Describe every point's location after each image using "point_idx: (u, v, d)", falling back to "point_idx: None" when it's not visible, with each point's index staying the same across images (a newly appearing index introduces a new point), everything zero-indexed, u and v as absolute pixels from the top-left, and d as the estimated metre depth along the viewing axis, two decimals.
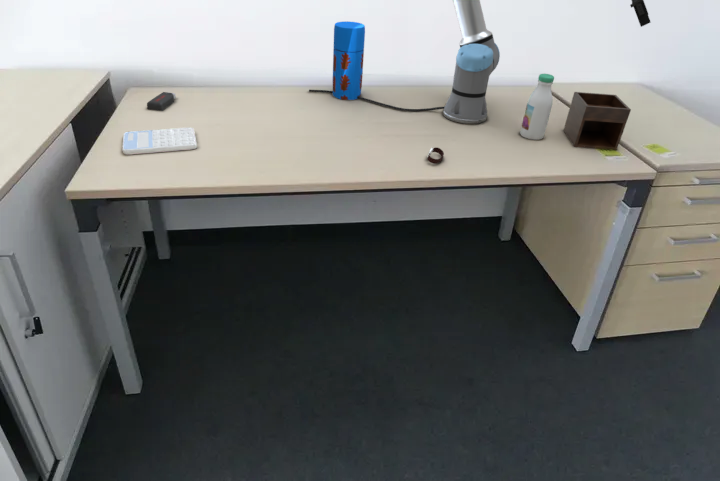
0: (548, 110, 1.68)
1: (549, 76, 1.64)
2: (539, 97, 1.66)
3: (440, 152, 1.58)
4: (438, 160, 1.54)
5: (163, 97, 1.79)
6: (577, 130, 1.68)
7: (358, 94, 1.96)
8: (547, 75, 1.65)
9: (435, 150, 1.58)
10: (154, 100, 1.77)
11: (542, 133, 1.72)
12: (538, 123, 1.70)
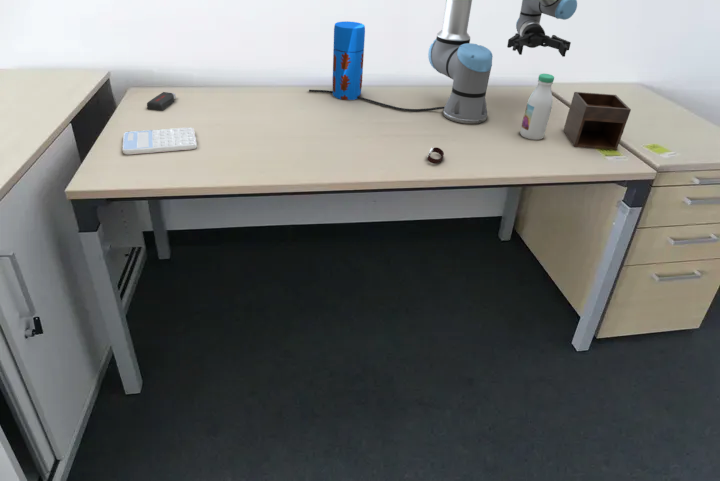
0: (548, 110, 1.68)
1: (549, 76, 1.64)
2: (539, 97, 1.66)
3: (440, 152, 1.58)
4: (438, 160, 1.54)
5: (163, 97, 1.79)
6: (577, 130, 1.68)
7: (358, 94, 1.96)
8: (547, 75, 1.65)
9: (435, 150, 1.58)
10: (154, 100, 1.77)
11: (542, 133, 1.72)
12: (538, 123, 1.70)
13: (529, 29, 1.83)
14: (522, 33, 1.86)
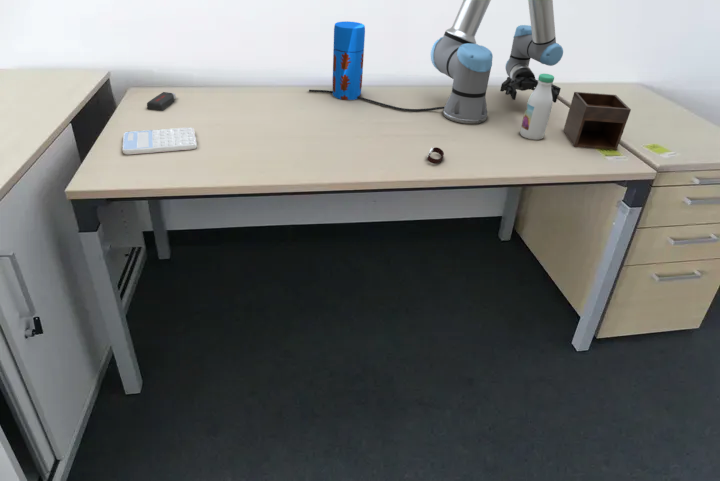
0: (548, 110, 1.68)
1: (549, 76, 1.64)
2: (539, 97, 1.66)
3: (440, 152, 1.58)
4: (438, 160, 1.54)
5: (163, 97, 1.79)
6: (577, 130, 1.68)
7: (358, 94, 1.96)
8: (547, 75, 1.65)
9: (435, 150, 1.58)
10: (154, 100, 1.77)
11: (542, 133, 1.72)
12: (538, 123, 1.70)
13: (520, 73, 1.89)
14: (513, 76, 1.92)
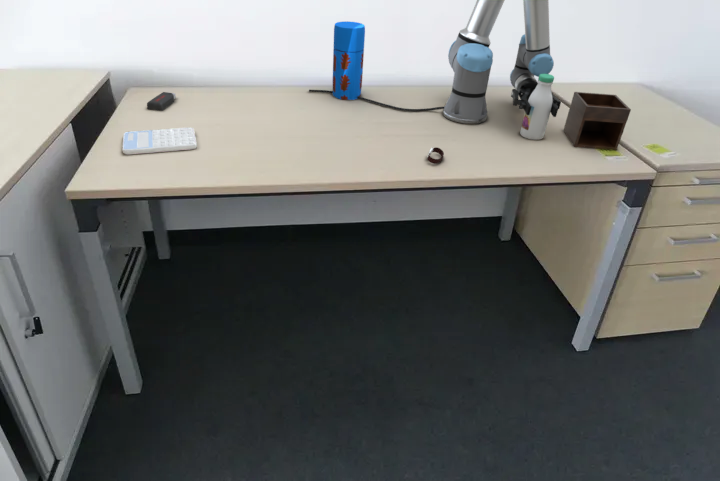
0: (548, 110, 1.68)
1: (549, 76, 1.64)
2: (539, 97, 1.66)
3: (440, 152, 1.58)
4: (438, 160, 1.54)
5: (163, 97, 1.79)
6: (577, 130, 1.68)
7: (358, 94, 1.96)
8: (547, 75, 1.65)
9: (435, 150, 1.58)
10: (154, 100, 1.77)
11: (542, 133, 1.72)
12: (538, 123, 1.70)
13: (525, 84, 1.81)
14: (518, 87, 1.84)
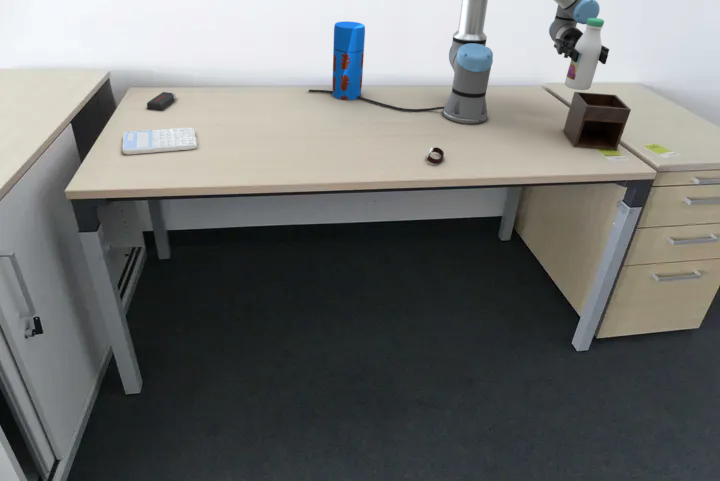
0: (597, 57, 1.58)
1: (599, 20, 1.54)
2: (588, 43, 1.56)
3: (440, 152, 1.58)
4: (438, 160, 1.54)
5: (163, 97, 1.79)
6: (577, 130, 1.68)
7: (358, 94, 1.96)
8: (596, 19, 1.55)
9: (435, 150, 1.58)
10: (154, 100, 1.77)
11: (589, 83, 1.62)
12: (586, 71, 1.60)
13: (569, 34, 1.71)
14: (560, 38, 1.74)
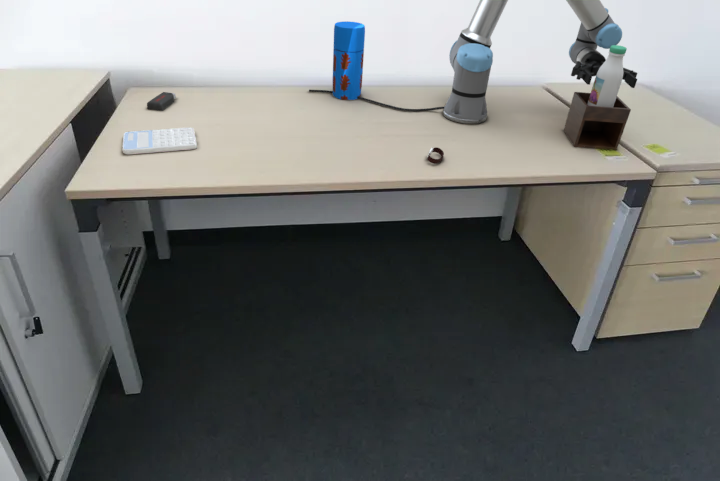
0: (619, 83, 1.62)
1: (621, 47, 1.58)
2: (610, 70, 1.60)
3: (440, 152, 1.58)
4: (438, 160, 1.54)
5: (163, 97, 1.79)
6: (577, 130, 1.68)
7: (358, 94, 1.96)
8: (619, 46, 1.59)
9: (435, 150, 1.58)
10: (154, 100, 1.77)
11: None
12: (608, 97, 1.64)
13: (590, 57, 1.75)
14: (582, 61, 1.78)
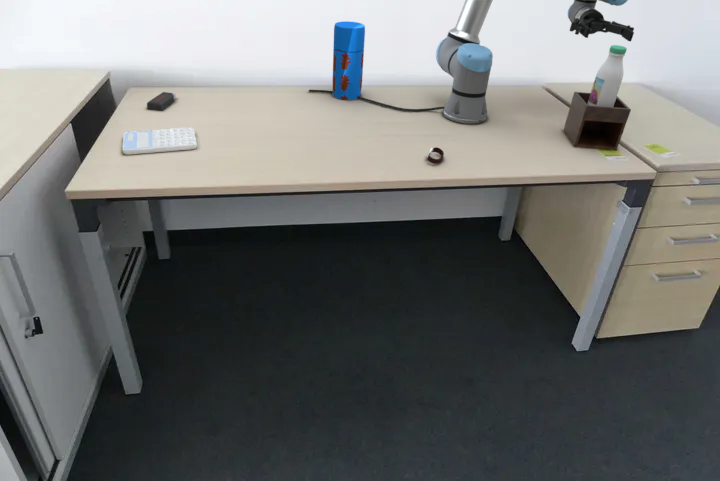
0: (619, 83, 1.62)
1: (621, 47, 1.58)
2: (611, 70, 1.60)
3: (440, 152, 1.58)
4: (438, 160, 1.54)
5: (163, 97, 1.79)
6: (577, 130, 1.68)
7: (358, 94, 1.96)
8: (619, 46, 1.59)
9: (435, 150, 1.58)
10: (154, 100, 1.77)
11: None
12: (608, 97, 1.64)
13: (588, 14, 1.79)
14: (580, 19, 1.82)
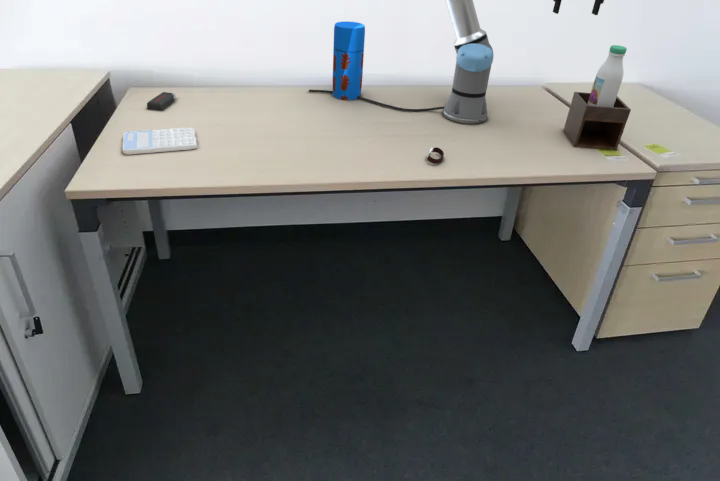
0: (619, 83, 1.62)
1: (621, 47, 1.58)
2: (611, 70, 1.60)
3: (440, 152, 1.58)
4: (438, 160, 1.54)
5: (163, 97, 1.79)
6: (577, 130, 1.68)
7: (358, 94, 1.96)
8: (619, 46, 1.59)
9: (435, 150, 1.58)
10: (154, 100, 1.77)
11: None
12: (608, 97, 1.64)
13: None
14: None
